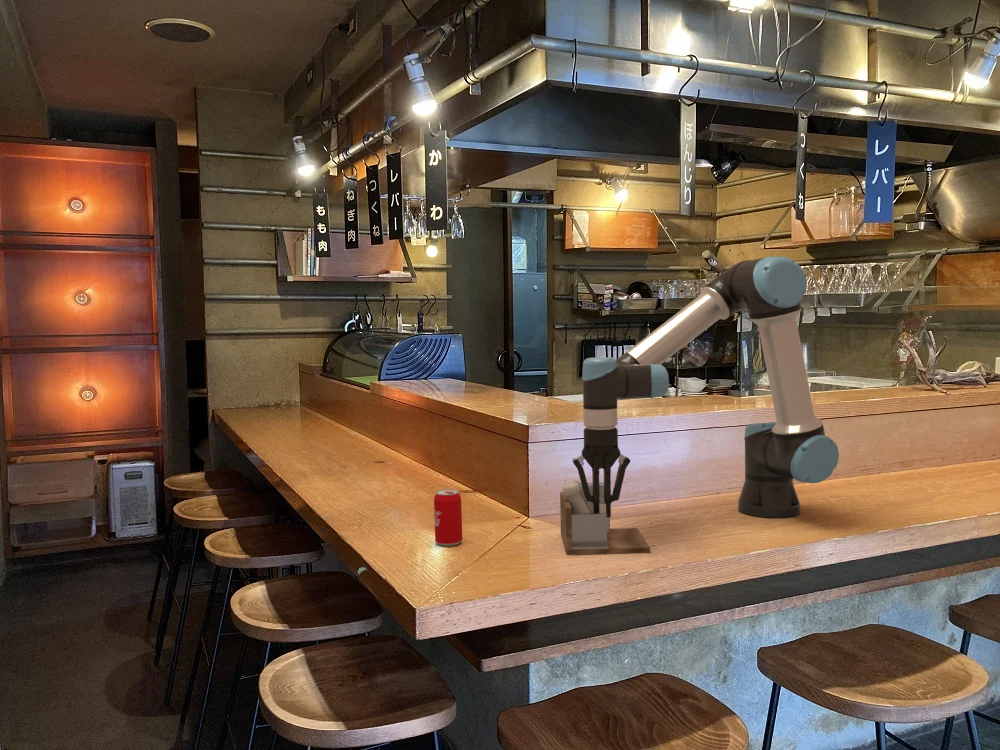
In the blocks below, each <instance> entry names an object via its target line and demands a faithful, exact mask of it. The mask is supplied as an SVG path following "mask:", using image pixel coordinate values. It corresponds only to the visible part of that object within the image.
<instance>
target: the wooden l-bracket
mask: <svg viewBox="0 0 1000 750" xmlns="http://www.w3.org/2000/svg"><path fill="white" fill-rule="evenodd" d="M559 503H560V504H559V506H560V508H559V512H560V513H559V514H560V537H561V540H562V543H563V547H564V550H565V554H566V556H567V555H568V556H570V555H573V556H575V555H578V556H579V555H612V554H613V555H614V554H615V555H616V554H618V555H619V554H620V555H621V554H651V546H650V545H649V543H648V541H647V540H646V538H645V537H644V536H643V534H642V533H641V531H640V529H639V528H638V527H624V528H623V527H621V528H610V533H607V545H608V547H609V549H572V511H571V505H570V503H569V501H568V498H567V496H565V495H564V493H563V491H560V492H559Z"/></svg>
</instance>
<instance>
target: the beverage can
mask: <svg viewBox="0 0 1000 750" xmlns="http://www.w3.org/2000/svg"><path fill="white" fill-rule="evenodd" d="M433 511H434V512H433V513H434V541H435V543H436V544H438V545H440V546H443V547H452V546H453V547H454V546H457V545H459V544H460V543H462V541H463V521H462V520H463V518H462V517H463V513H462V512H463V511H462V496H461V494H460V492H459V490H457V489H452V488H450V489H449V488H447V489H440V490H437V491H435V495H434V497H433Z"/></svg>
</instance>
